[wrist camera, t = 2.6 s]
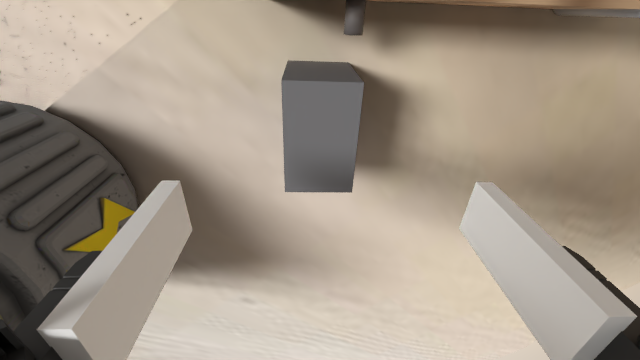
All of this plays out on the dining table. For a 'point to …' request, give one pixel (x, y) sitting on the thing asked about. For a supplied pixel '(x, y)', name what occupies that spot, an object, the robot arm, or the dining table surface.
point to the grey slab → (599, 12)
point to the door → (357, 5)
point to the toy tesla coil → (52, 203)
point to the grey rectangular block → (320, 125)
